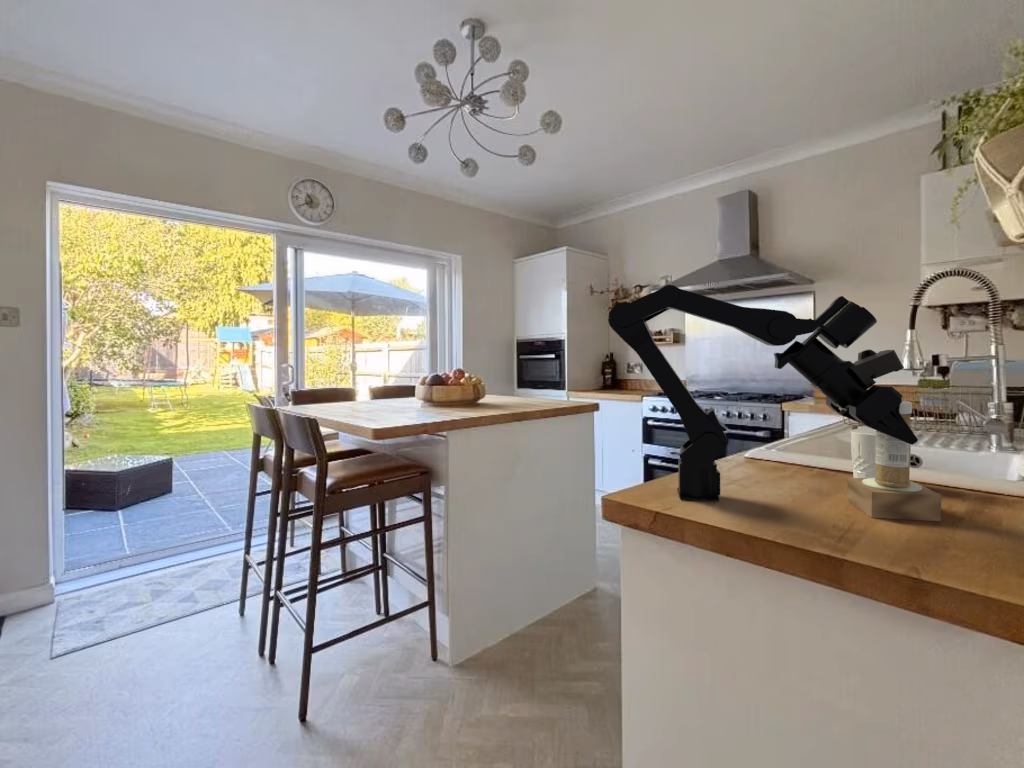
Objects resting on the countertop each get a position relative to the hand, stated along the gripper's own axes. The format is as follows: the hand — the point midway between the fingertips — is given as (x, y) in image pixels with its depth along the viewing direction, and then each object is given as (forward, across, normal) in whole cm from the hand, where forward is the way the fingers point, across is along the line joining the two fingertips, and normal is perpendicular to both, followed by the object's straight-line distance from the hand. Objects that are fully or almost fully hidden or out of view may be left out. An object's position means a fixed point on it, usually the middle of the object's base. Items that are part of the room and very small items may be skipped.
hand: (902, 437), depth 77 cm
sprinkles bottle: (+4, -1, +7) cm, 8 cm away
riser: (+7, 0, +9) cm, 12 cm away
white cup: (+10, +18, +7) cm, 22 cm away
